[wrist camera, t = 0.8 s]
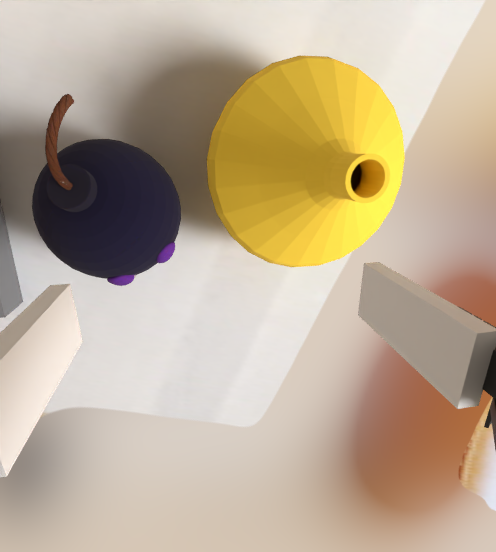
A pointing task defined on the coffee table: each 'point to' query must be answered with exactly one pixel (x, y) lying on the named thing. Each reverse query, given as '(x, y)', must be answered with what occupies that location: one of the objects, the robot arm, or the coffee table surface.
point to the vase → (305, 161)
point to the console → (7, 273)
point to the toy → (104, 206)
